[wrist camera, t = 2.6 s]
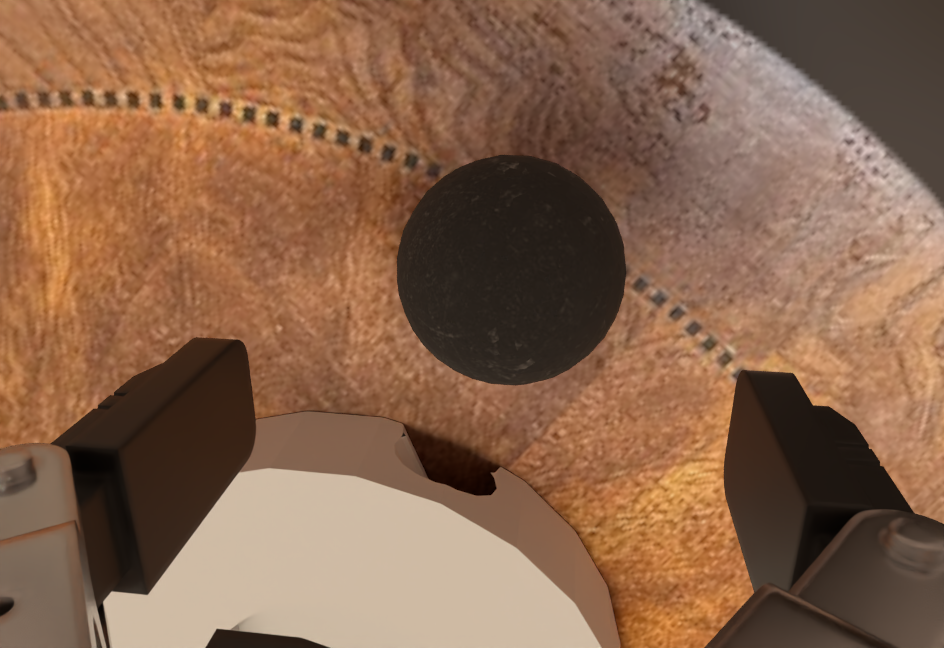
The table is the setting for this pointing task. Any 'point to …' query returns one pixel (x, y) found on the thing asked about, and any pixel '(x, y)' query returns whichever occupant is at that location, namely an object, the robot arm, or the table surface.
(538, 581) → the beige round base
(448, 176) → the light bulb
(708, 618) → the table surface
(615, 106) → the table surface
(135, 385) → the robot arm
